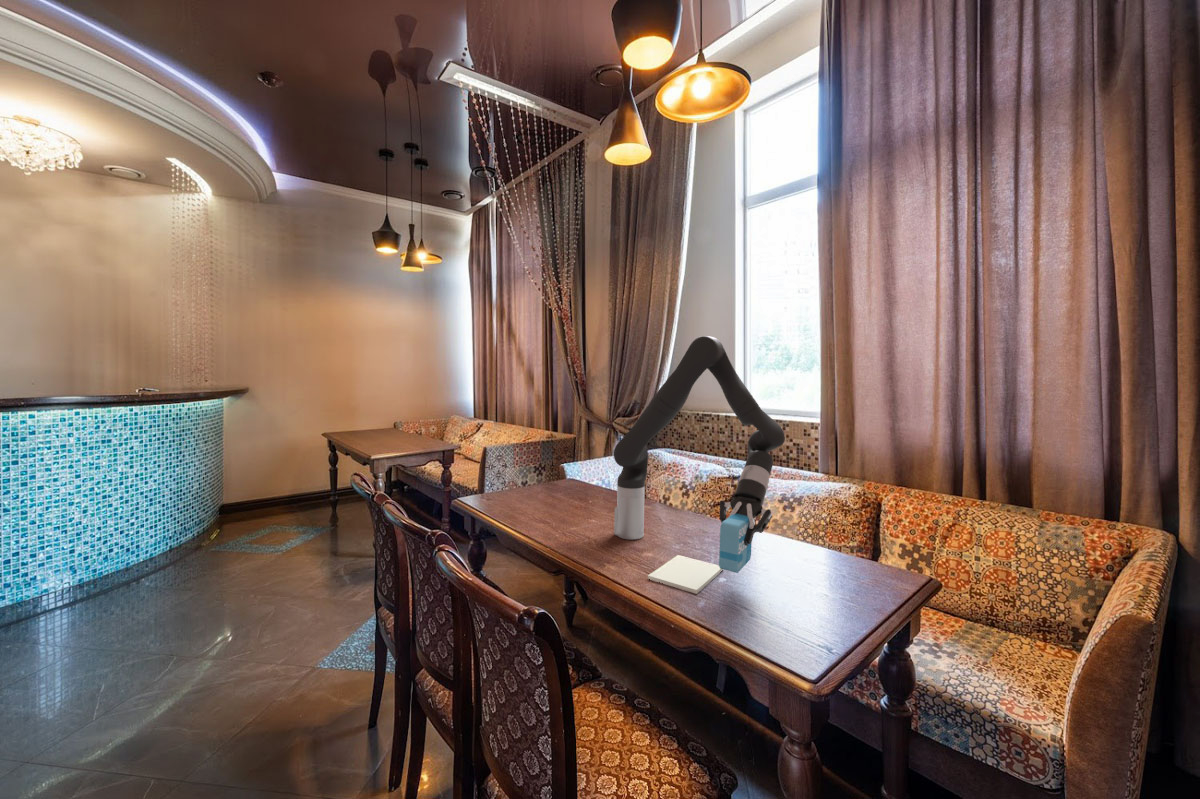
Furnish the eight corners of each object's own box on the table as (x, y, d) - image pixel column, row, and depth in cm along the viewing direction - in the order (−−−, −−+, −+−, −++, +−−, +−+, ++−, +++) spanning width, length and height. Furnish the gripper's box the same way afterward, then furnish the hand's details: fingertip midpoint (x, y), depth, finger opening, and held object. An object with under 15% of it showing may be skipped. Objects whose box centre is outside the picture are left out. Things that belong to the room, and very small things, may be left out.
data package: (736, 575, 112) (738, 526, 112) (718, 570, 115) (720, 522, 114) (751, 559, 122) (752, 514, 121) (734, 555, 125) (735, 511, 124)
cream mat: (648, 579, 124) (648, 575, 124) (678, 558, 139) (678, 554, 139) (696, 593, 116) (696, 590, 116) (723, 570, 131) (723, 566, 131)
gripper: (724, 474, 129) (705, 528, 120) (777, 482, 120) (761, 541, 111) (730, 489, 133) (712, 542, 124) (781, 497, 125) (766, 555, 116)
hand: (735, 541), depth 118 cm, fingers closed on data package, 4 cm apart
